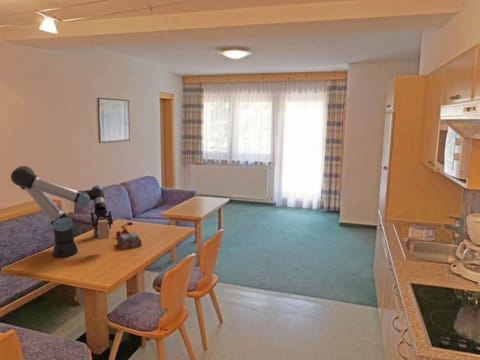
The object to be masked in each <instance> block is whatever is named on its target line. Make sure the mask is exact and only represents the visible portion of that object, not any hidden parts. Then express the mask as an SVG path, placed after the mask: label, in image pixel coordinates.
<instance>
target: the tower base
mask: <svg viewBox="0 0 480 360" xmlns="http://www.w3.org/2000/svg"><path fill="white" fill-rule="evenodd" d="M116 238H117V239H116V240H117V242H116V243H117V245H118V246H119V248H120V250H126V249H132V248H136V247H142V239H141V238H140V237H139V235H138V234H137V233H136V231H135V232H129V233H127V234H120V237H116Z"/></svg>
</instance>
